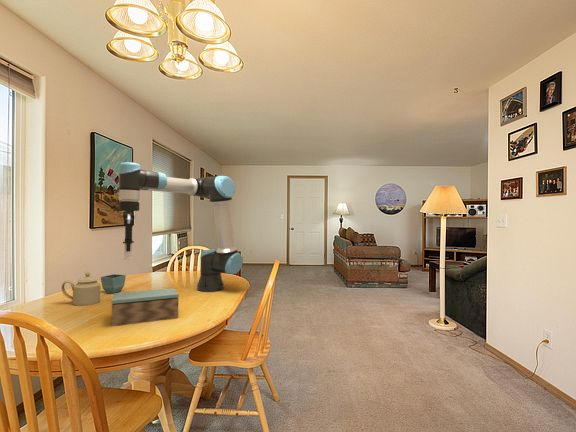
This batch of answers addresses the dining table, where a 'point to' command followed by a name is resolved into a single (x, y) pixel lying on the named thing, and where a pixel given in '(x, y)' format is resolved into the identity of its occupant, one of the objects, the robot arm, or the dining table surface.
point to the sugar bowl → (84, 291)
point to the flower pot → (113, 283)
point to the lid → (144, 295)
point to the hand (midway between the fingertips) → (128, 259)
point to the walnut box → (144, 311)
